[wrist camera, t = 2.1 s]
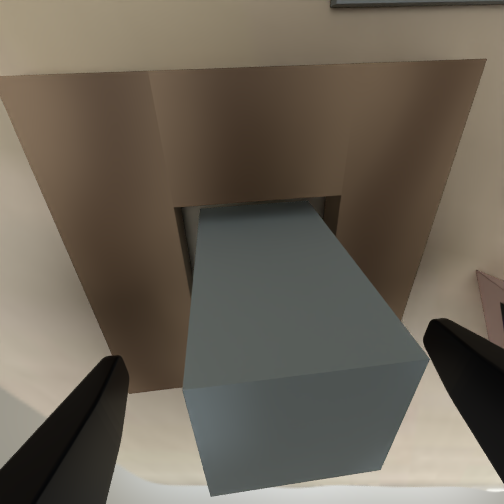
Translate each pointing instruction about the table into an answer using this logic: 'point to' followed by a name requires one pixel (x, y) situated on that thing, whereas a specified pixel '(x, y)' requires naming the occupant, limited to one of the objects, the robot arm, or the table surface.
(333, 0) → the slate mat
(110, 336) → the walnut pocket frame
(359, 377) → the greyblue block
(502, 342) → the greeting card
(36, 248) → the table surface
